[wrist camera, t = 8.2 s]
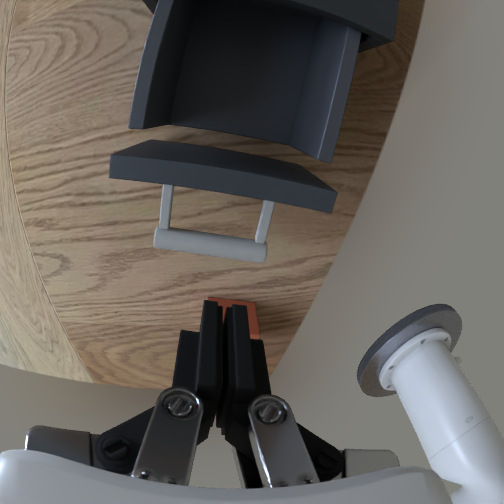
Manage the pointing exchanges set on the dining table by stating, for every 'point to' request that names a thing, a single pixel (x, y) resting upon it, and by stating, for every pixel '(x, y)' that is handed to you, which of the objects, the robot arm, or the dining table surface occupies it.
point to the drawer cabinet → (348, 16)
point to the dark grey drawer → (238, 108)
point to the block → (250, 309)
